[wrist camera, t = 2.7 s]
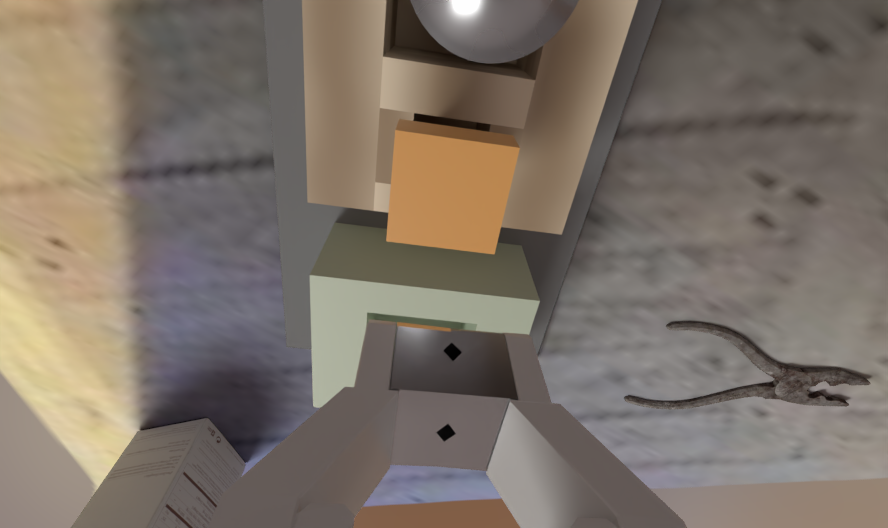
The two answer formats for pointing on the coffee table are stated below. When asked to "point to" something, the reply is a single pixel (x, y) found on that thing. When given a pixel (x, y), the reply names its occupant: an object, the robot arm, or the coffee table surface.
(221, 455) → the supplement box
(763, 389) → the pliers
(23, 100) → the coffee table surface
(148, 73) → the coffee table surface
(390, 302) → the frame
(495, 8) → the grey cylindrical peg
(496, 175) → the key
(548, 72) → the socket block
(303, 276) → the mat
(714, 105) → the coffee table surface
